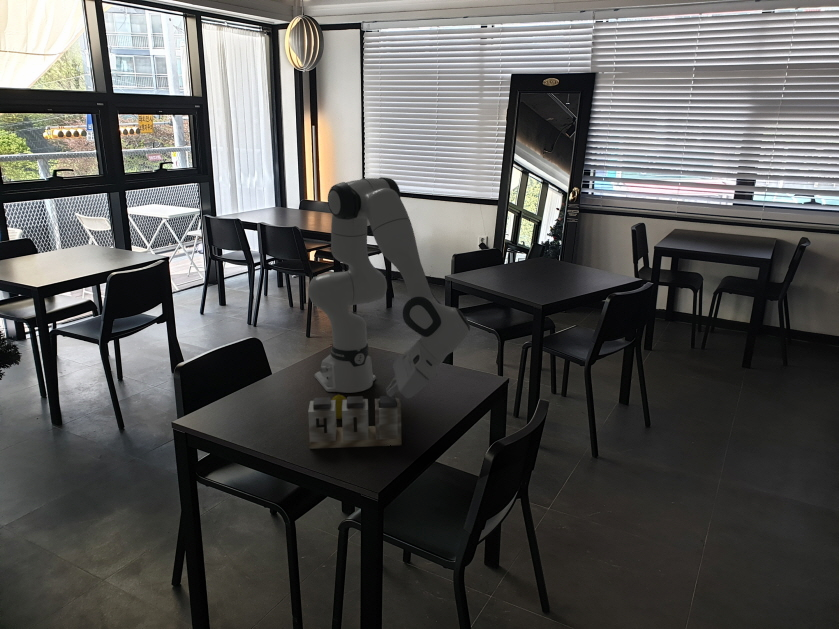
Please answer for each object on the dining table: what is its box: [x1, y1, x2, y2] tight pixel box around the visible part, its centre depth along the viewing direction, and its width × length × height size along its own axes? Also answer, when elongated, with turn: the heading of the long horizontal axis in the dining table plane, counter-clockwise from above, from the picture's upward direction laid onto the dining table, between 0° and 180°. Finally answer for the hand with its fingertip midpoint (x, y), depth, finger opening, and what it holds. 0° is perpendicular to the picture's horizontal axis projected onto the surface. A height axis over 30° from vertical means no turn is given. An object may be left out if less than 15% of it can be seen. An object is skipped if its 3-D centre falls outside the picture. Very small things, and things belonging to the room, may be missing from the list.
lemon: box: [331, 393, 347, 420], centre depth 191 cm, size 6×6×8 cm
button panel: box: [307, 395, 403, 450], centre depth 179 cm, size 25×9×12 cm, turn 95°
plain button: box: [379, 395, 397, 408], centre depth 179 cm, size 4×4×6 cm
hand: (387, 393), depth 177 cm, fingers closed
